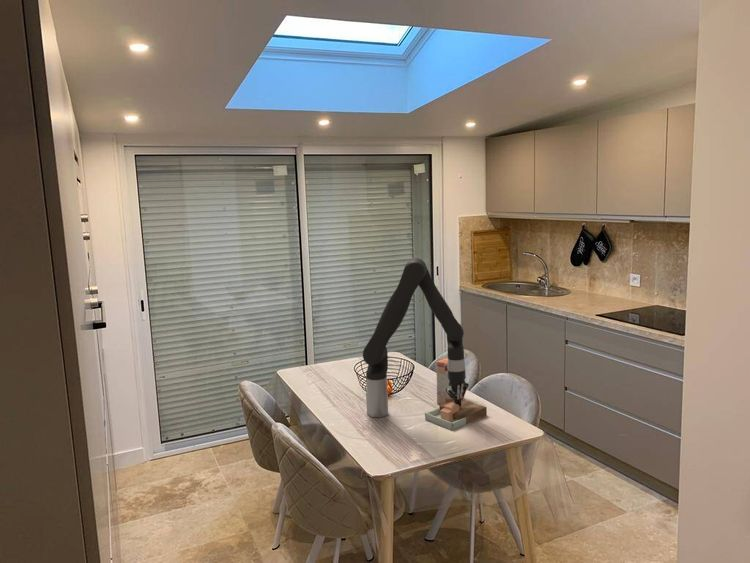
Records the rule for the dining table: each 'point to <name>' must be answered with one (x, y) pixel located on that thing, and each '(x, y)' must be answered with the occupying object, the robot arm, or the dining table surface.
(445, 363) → the cracker box
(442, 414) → the tile
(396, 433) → the dining table surface
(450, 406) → the tile
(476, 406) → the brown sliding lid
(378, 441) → the dining table surface
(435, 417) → the tray
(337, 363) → the dining table surface
